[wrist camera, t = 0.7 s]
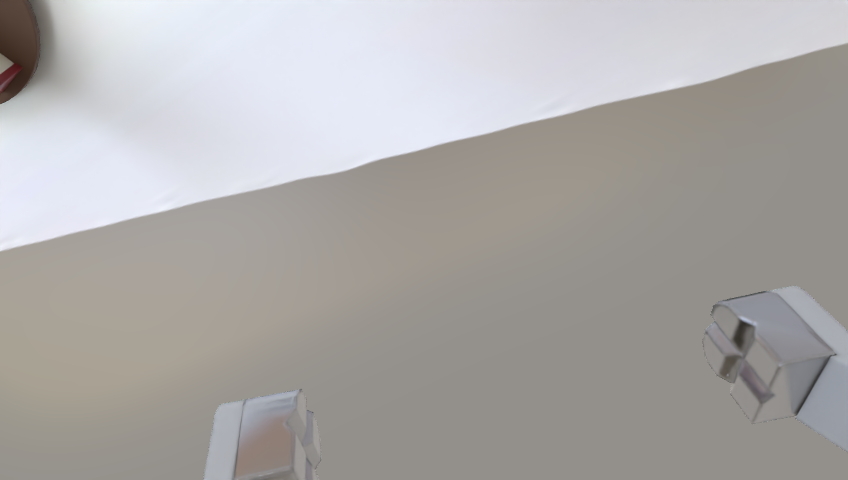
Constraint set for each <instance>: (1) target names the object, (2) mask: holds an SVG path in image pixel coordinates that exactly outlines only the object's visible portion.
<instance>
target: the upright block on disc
mask: <svg viewBox="0 0 848 480" xmlns="http://www.w3.org/2000/svg"><path fill="white" fill-rule="evenodd" d="M39 57H40V36H39V29H38V25H37V21H36V17H35V15H34V12H33V10H32V7H31V4H30V2H29V1H28V0H0V104H2V103H4V102H6V101H8V100H10V99H11V98H12V97H14V96H15V95H17V94H18V93H19V92H20V91H21V90H22V89H23V88H24V87H25V86H26V85H27V84H28V83H29V81H30V80H31V79H32V77H33V75H34V73H35V71H36V68H37V66H38V61H39Z"/></svg>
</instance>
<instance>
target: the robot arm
mask: <svg viewBox="0 0 848 480" xmlns="http://www.w3.org/2000/svg"><path fill="white" fill-rule="evenodd" d="M710 315H711V316H712V318H713V319H714V320H715V321H714V322H713V323H712V324H711V325H710V326H709V327H708V328H707V329H706V330H705V333H704V338H703V347H704V353H705V356H706V359H707V361H708V363H709V365H710V366H711V368H712V369H713V371H714V372H715V374H716V375H717V376H719V377H721V378H722V379H724V380H726V381H728V382H730V383H731V396H732V397H733V399H734V400H735V401H736V403H737V404H738V405H739V407H740V408H741V409H742V411H743V412H744V414H745V415H746V416H747V418H748V419H749V420H750V422H751V423H752V424H756V423H761V422H767V421H772V420H777V419H783V418H788V417H793V416H796V419H797V420H798V421H800V422H802V423H803V424H805V425H806V426H808V427H809V428H811V429H812V430H814V431H815V432H817V433H818V434H820V435H821V436H823V437H824V438H826V439H828V440H829V441H831V442H832V443H834V444H835V445H837V446H838V447H840V448H841V449H843V450H844V451H846V452H847V453H848V331H847V330H846V329H845V328H844V327H843V326H842V325H840V324H839V323H838V322H837V321H836V320H835V319H834V318H833V317H832V316H831V315H830V314H829V313H828V312H827V311H826V310H825V309H824V308H822V306H821V305H819V304H818V303H817V302H816V301H815V300H814V299H813V298H812V297H811V296H810V295H809V294H808V293H807V292H806V291H805V290H803V289H802V288H799V287H797V286H790V287H785V288H780V289H776V290H771V291H763V292H758V293H754V294H750V295H745V296H741V297H736V298H732V299H727V300H723V301H719V302H718V303H717V304H715V305H714V306H713V309H712V311H711V314H710ZM320 461H321V443H320V435H319V429H318V425H317V422H316V419H315V416H314V414H313V412H311V411H309V410H307V399H306V397H305V395H304V393H303V391H302V389H299V390H294V391H288V392H283V393H277V394H272V395H267V396H261V397H256V398H250V399H245V400H239V401H234V402H230V403H225V404H220V405H219V407H218V409H217V411H216V413H215V417H214V422H213V427H212V433H211V439H210V444H209V450H208V455H207V461H206V467H205V472H204V478H203V480H319V478H318V476H317V474H316V471H315V469H316V468H317V466H318V464H319V463H320Z"/></svg>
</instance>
